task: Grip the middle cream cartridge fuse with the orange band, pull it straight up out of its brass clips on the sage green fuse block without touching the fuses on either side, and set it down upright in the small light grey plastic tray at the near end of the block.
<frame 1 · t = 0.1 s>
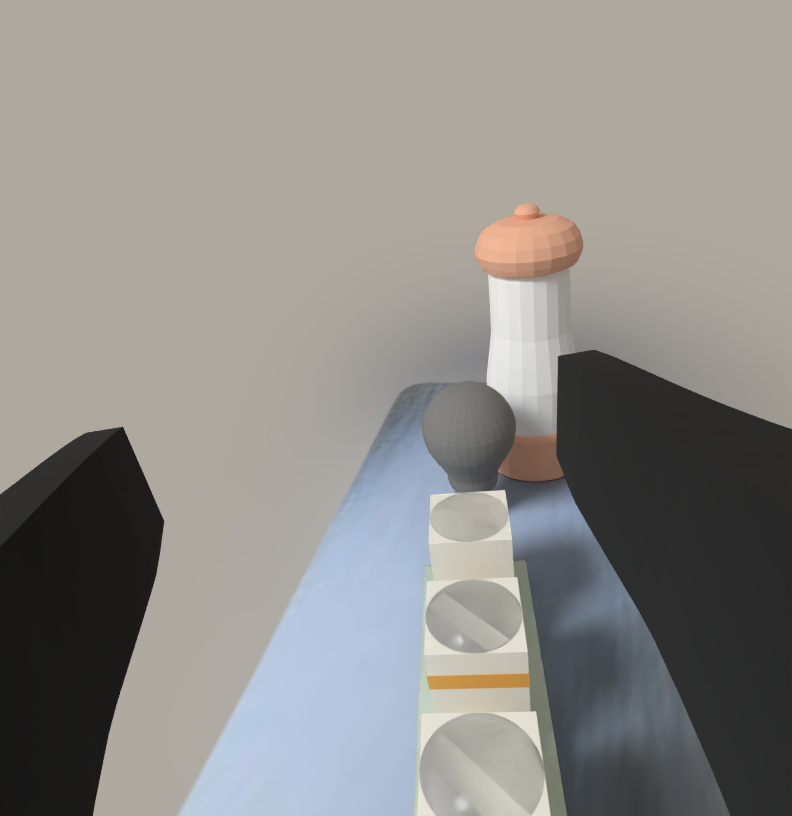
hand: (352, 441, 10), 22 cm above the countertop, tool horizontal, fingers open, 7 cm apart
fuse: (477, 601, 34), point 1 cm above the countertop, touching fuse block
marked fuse: (483, 707, 28), point 1 cm above the countertop, touching fuse block
fuse block: (484, 724, 29), on the countertop
light bulb: (476, 516, 43), on the countertop
salt shaker: (534, 457, 48), on the countertop
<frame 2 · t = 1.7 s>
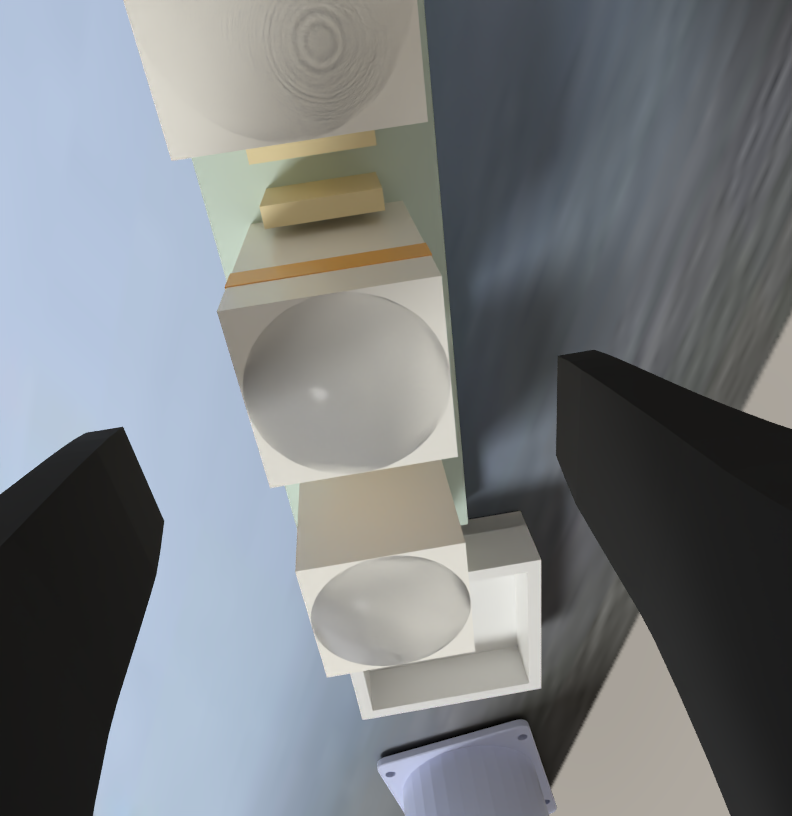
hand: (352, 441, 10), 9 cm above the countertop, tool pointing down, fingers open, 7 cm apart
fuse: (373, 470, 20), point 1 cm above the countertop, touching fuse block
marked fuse: (340, 285, 17), point 1 cm above the countertop, touching fuse block
fuse block: (338, 271, 18), on the countertop
tray: (433, 593, 25), on the countertop
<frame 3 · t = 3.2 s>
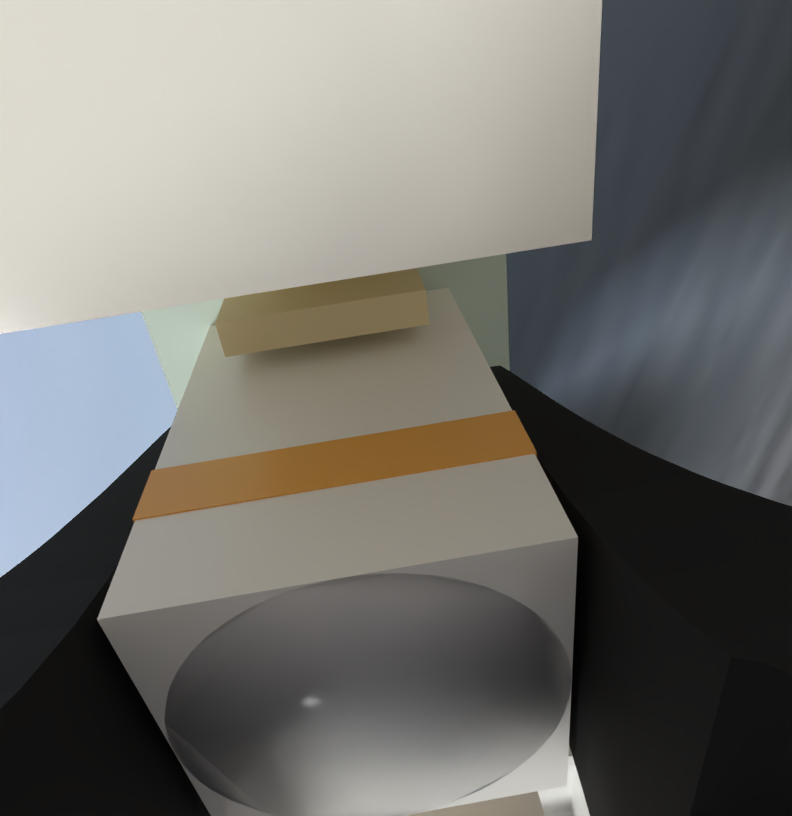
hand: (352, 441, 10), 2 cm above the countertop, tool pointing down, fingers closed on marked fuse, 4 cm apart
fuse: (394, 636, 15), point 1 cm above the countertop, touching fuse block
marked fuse: (349, 407, 11), point 1 cm above the countertop, touching fuse block, gripper
fuse block: (347, 376, 12), on the countertop
tray: (466, 751, 20), on the countertop
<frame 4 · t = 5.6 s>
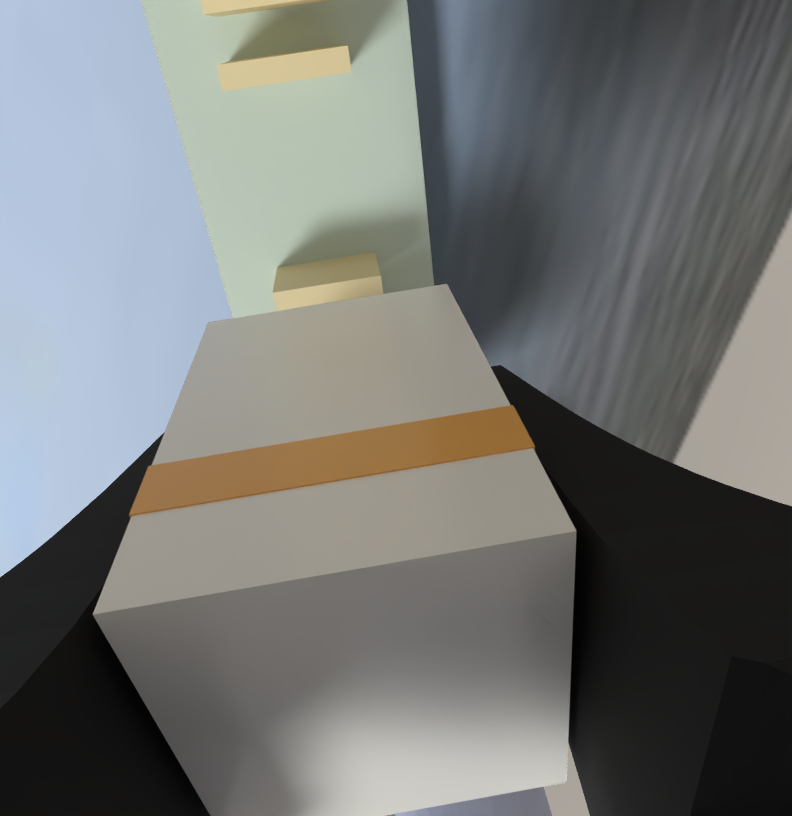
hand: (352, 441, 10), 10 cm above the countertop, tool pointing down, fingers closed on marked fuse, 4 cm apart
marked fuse: (348, 404, 11), point 9 cm above the countertop, touching gripper
fuse block: (310, 166, 17), on the countertop
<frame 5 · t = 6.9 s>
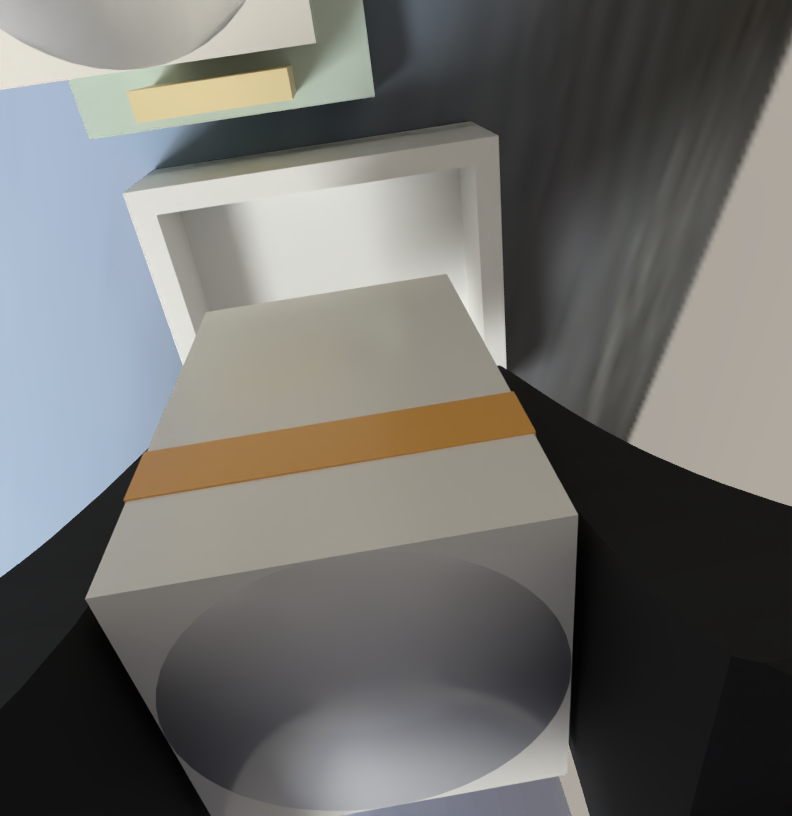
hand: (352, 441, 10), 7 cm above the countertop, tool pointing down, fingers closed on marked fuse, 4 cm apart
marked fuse: (347, 396, 11), point 6 cm above the countertop, touching gripper
tray: (340, 295, 16), on the countertop
when the fingers open (3 cm above the countertop, at t = 7.9 s): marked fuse drops 1 cm, resting on tray.
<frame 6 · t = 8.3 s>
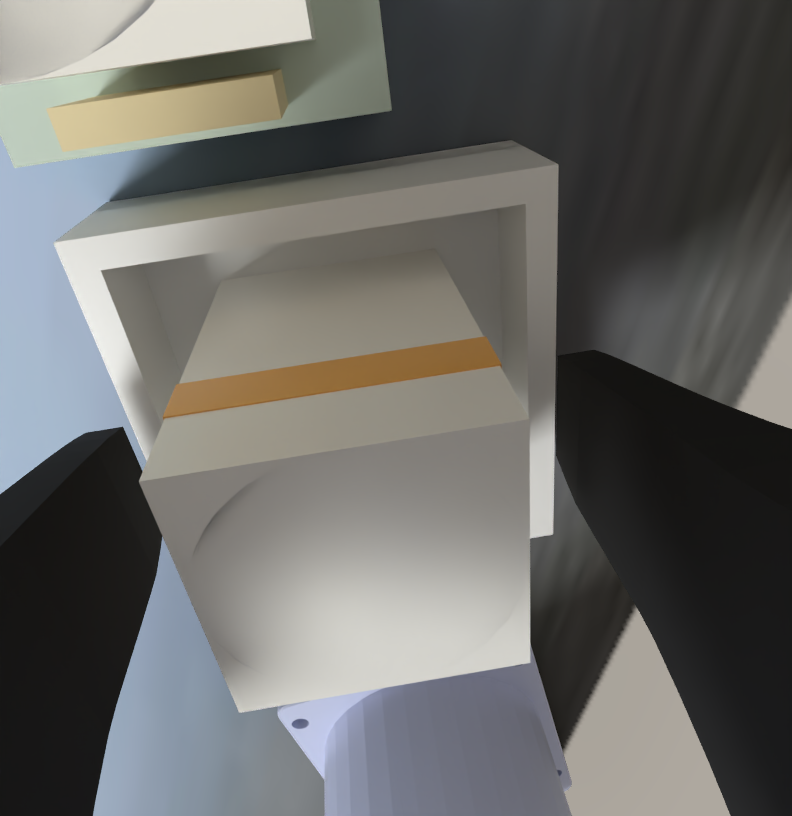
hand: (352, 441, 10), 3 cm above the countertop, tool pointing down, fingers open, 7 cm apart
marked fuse: (346, 359, 12), point 1 cm above the countertop, touching tray
tray: (345, 352, 13), on the countertop
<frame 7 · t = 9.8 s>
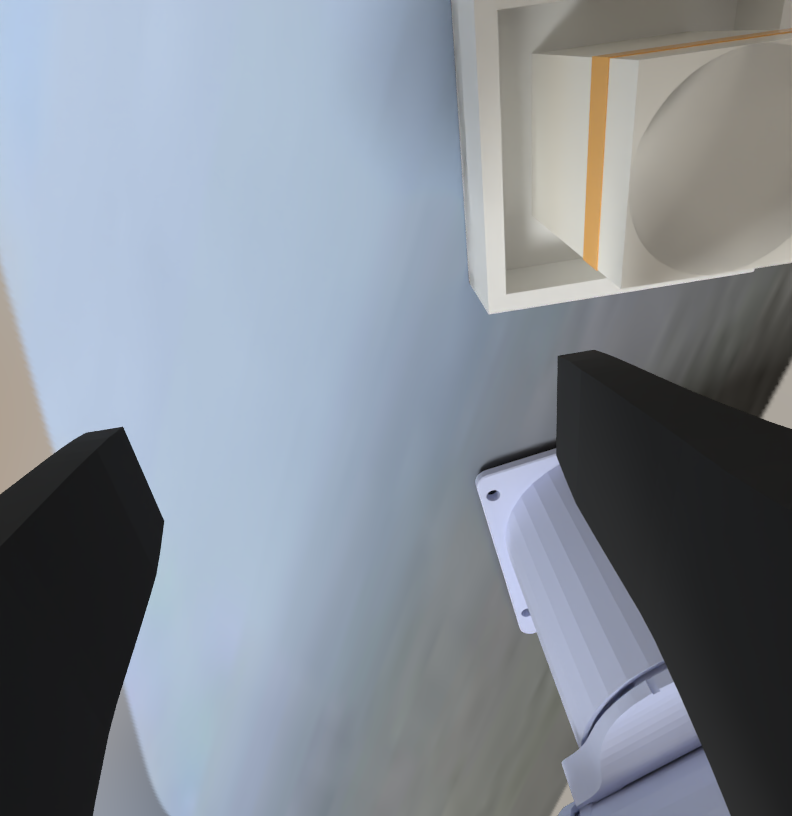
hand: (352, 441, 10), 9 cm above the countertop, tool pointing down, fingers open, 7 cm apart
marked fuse: (604, 129, 16), point 1 cm above the countertop, touching tray
tray: (592, 134, 17), on the countertop
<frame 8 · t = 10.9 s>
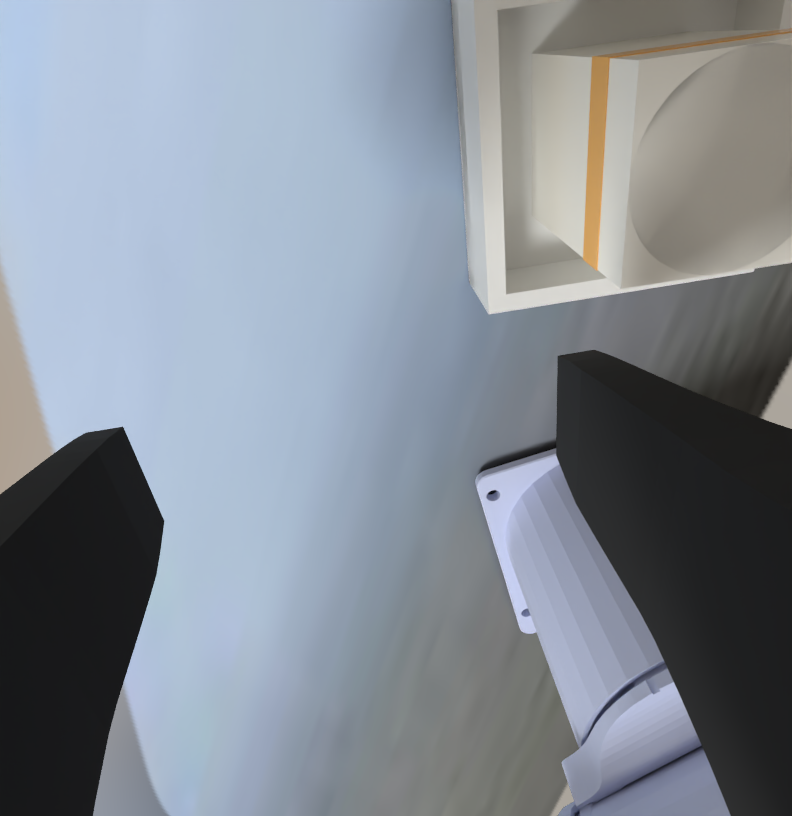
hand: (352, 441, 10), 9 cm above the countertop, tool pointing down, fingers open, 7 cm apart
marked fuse: (604, 129, 16), point 1 cm above the countertop, touching tray
tray: (592, 134, 17), on the countertop
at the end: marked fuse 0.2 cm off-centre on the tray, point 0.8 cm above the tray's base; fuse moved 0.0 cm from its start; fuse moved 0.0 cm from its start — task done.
